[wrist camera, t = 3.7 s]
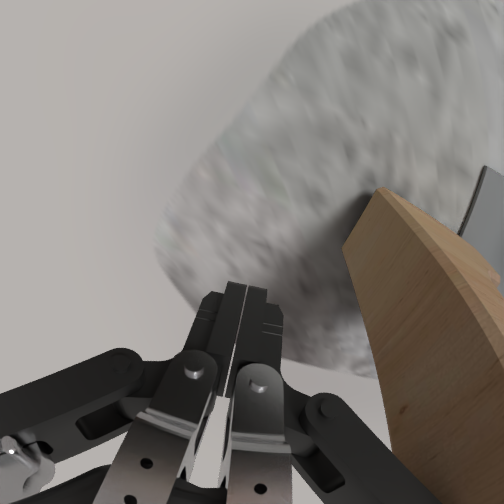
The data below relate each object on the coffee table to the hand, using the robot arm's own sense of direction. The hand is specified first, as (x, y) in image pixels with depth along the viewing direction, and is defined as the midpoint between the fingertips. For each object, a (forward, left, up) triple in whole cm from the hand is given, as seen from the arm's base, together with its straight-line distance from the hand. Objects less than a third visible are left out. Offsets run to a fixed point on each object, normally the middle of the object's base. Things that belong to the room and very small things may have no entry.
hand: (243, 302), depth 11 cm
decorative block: (-12, 0, -10) cm, 15 cm away
